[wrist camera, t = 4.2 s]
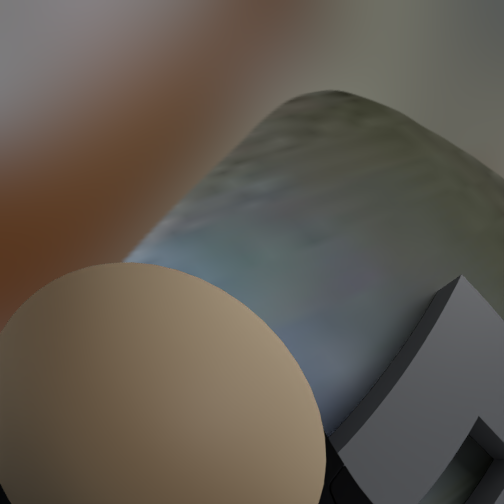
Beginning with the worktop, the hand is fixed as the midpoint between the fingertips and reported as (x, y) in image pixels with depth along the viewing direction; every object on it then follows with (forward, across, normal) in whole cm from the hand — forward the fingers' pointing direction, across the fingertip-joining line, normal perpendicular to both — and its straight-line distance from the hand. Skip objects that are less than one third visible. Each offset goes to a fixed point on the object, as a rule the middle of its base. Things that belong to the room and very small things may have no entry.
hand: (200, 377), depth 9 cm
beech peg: (+4, 0, +6) cm, 7 cm away
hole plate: (+2, -16, +10) cm, 19 cm away
